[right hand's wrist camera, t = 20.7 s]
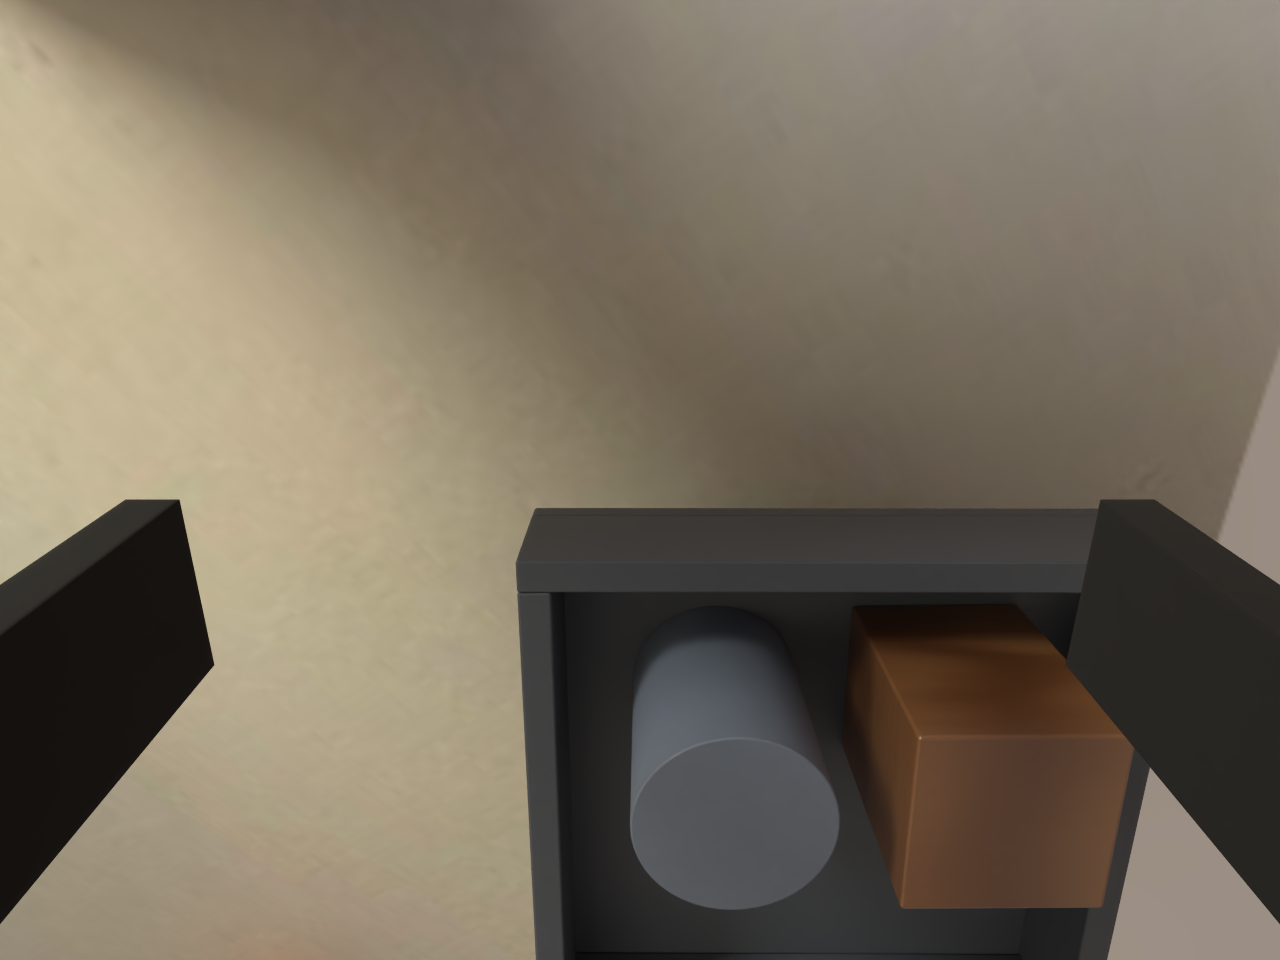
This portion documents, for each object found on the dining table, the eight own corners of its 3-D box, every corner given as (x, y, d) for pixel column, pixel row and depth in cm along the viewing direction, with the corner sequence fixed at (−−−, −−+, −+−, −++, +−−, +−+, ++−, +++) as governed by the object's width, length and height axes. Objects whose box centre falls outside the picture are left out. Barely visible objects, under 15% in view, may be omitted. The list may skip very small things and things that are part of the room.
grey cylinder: (633, 745, 25) (630, 910, 19) (633, 605, 23) (629, 737, 18) (789, 746, 25) (832, 911, 19) (798, 605, 23) (848, 738, 18)
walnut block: (841, 745, 25) (900, 910, 19) (851, 604, 23) (918, 737, 17) (997, 744, 25) (1103, 909, 19) (1017, 603, 23) (1139, 735, 17)
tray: (534, 507, 23) (508, 582, 18) (1114, 507, 23) (1229, 584, 18) (562, 1159, 31) (548, 1324, 26) (992, 1161, 31) (1052, 1327, 26)
